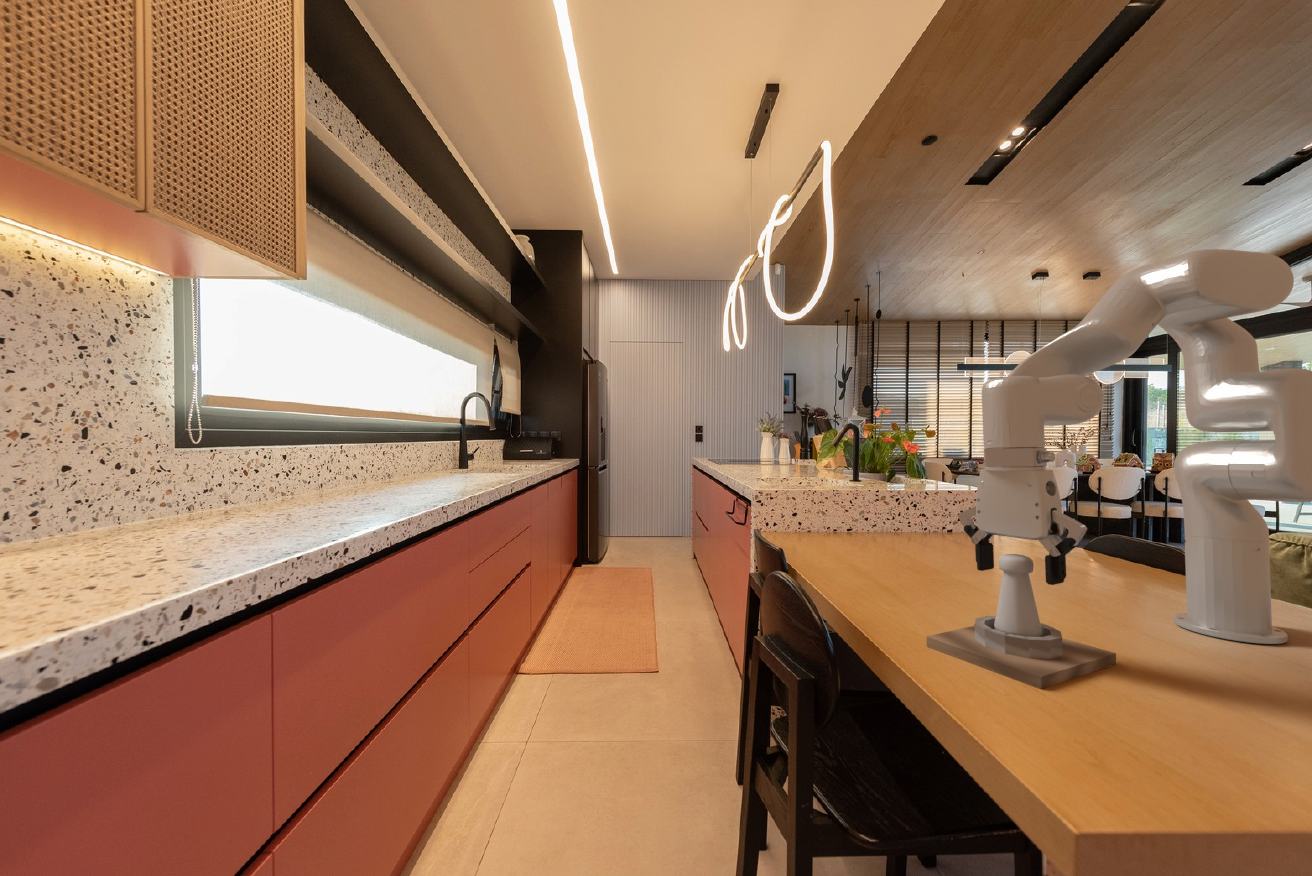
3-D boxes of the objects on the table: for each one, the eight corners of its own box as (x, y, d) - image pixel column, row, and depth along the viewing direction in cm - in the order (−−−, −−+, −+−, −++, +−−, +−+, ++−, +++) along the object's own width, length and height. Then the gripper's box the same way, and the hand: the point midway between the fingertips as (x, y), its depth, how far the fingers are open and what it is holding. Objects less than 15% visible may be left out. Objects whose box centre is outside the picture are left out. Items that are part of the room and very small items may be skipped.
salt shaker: (1050, 653, 73) (1048, 560, 73) (1005, 650, 74) (1003, 558, 75) (1029, 638, 79) (1027, 552, 79) (987, 636, 80) (985, 551, 80)
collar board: (999, 629, 87) (998, 605, 88) (1116, 664, 73) (1115, 635, 73) (926, 646, 80) (926, 619, 80) (1041, 689, 65) (1040, 656, 65)
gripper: (1097, 460, 71) (1102, 586, 71) (973, 459, 87) (977, 562, 86) (1066, 461, 68) (1071, 593, 67) (943, 460, 83) (947, 567, 83)
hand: (1018, 576), depth 77 cm, fingers open, 9 cm apart
